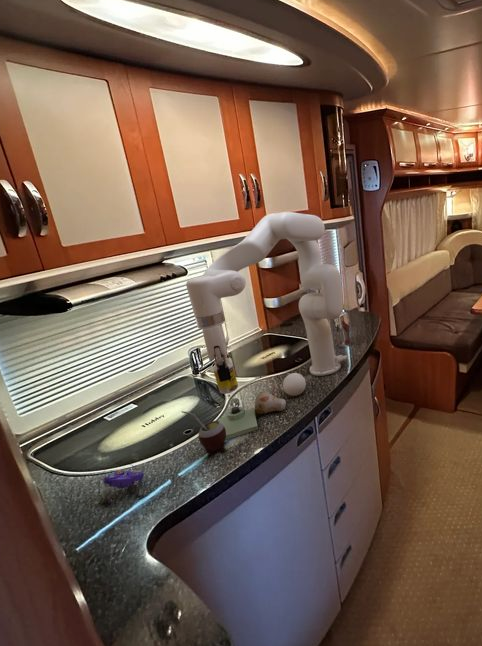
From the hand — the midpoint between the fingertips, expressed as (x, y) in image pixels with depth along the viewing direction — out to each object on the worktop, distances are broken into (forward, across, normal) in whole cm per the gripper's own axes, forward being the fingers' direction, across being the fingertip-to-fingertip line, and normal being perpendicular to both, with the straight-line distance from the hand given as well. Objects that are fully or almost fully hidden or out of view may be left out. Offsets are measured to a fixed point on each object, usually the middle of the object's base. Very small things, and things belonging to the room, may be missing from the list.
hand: (225, 375), depth 112 cm
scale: (+18, -1, 0) cm, 18 cm away
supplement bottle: (+5, 0, 0) cm, 5 cm away
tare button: (+15, -5, 0) cm, 16 cm away
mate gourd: (+18, +9, -7) cm, 22 cm away
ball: (+18, -10, +20) cm, 29 cm away
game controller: (+18, +15, -28) cm, 37 cm away
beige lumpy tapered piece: (+18, -4, +11) cm, 22 cm away
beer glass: (+18, -44, +50) cm, 69 cm away
